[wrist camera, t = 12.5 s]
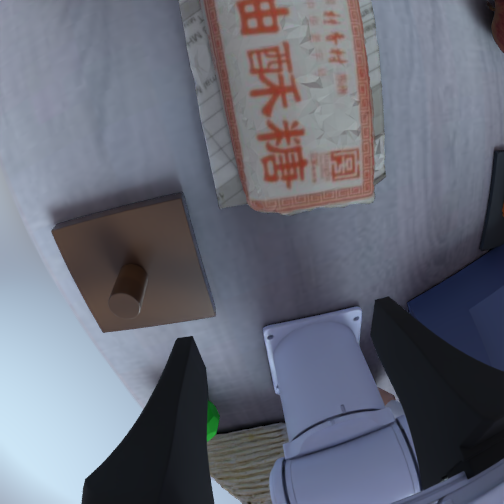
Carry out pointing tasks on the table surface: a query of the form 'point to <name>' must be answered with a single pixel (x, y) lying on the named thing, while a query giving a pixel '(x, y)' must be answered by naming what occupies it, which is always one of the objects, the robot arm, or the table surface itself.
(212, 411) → the polyhedron
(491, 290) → the phone stand
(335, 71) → the packaged product
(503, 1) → the apple
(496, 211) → the rubber pad
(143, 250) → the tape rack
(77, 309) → the table surface
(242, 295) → the table surface
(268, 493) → the fossil tooth
